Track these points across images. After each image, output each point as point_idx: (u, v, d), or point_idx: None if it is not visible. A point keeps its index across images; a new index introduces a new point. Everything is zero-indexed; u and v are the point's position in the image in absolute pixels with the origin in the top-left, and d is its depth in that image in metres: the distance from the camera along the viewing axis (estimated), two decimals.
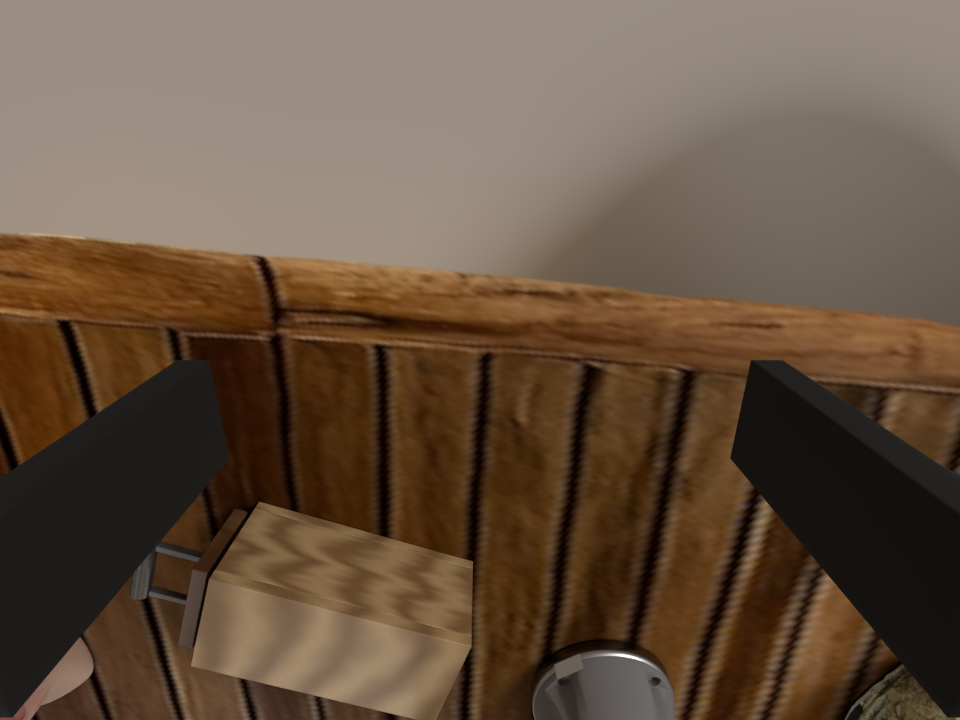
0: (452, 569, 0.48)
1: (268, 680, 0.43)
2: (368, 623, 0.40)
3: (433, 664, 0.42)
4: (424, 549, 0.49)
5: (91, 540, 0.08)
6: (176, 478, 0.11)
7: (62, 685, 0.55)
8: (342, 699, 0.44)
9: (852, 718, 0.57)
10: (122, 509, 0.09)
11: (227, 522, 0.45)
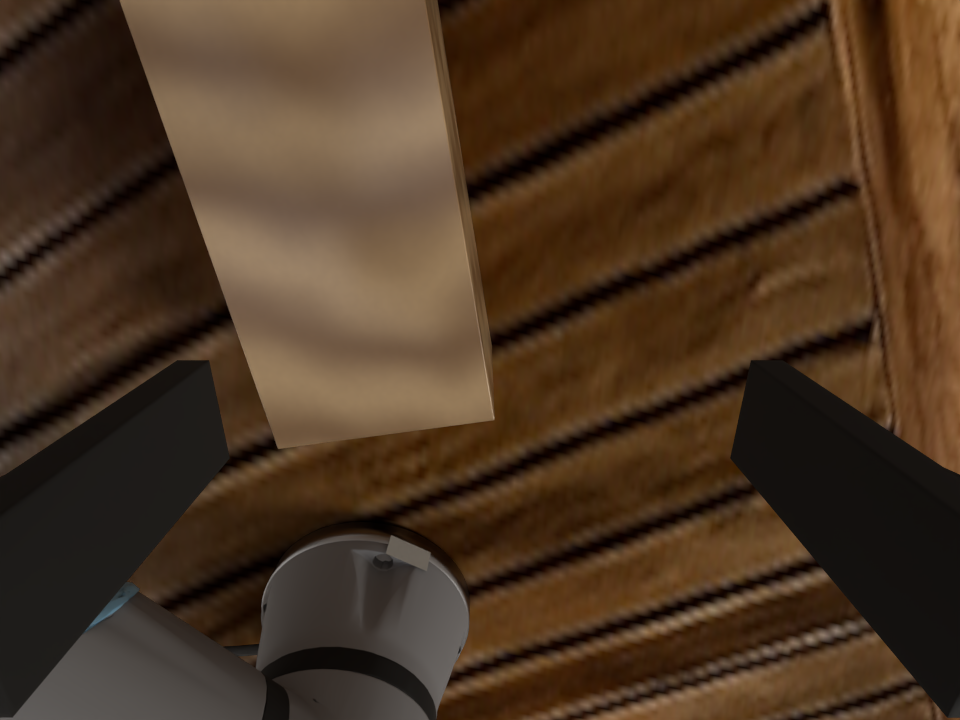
0: None
1: (165, 86, 0.18)
2: (453, 226, 0.19)
3: (418, 383, 0.22)
4: None
5: (91, 540, 0.08)
6: (176, 478, 0.11)
7: None
8: (222, 268, 0.20)
9: None
10: (122, 509, 0.09)
11: None
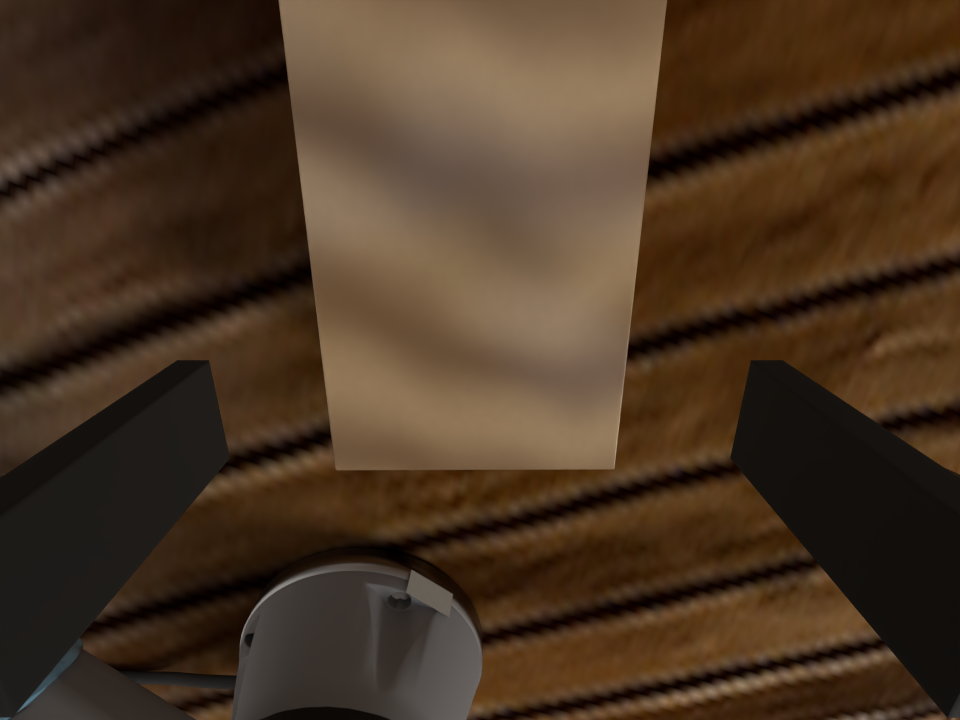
0: None
1: None
2: (631, 224, 0.15)
3: (534, 412, 0.17)
4: None
5: (91, 540, 0.08)
6: (176, 478, 0.11)
7: None
8: (318, 231, 0.15)
9: None
10: (123, 508, 0.09)
11: None
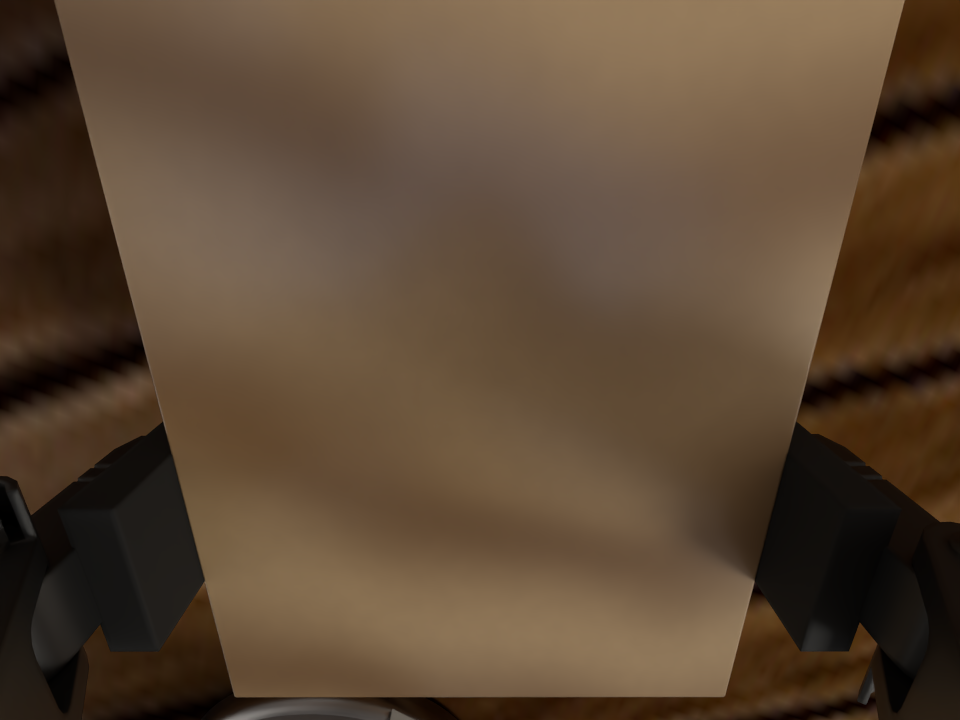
0: None
1: None
2: (809, 284, 0.07)
3: (588, 614, 0.10)
4: None
5: None
6: None
7: None
8: (154, 298, 0.07)
9: None
10: None
11: None
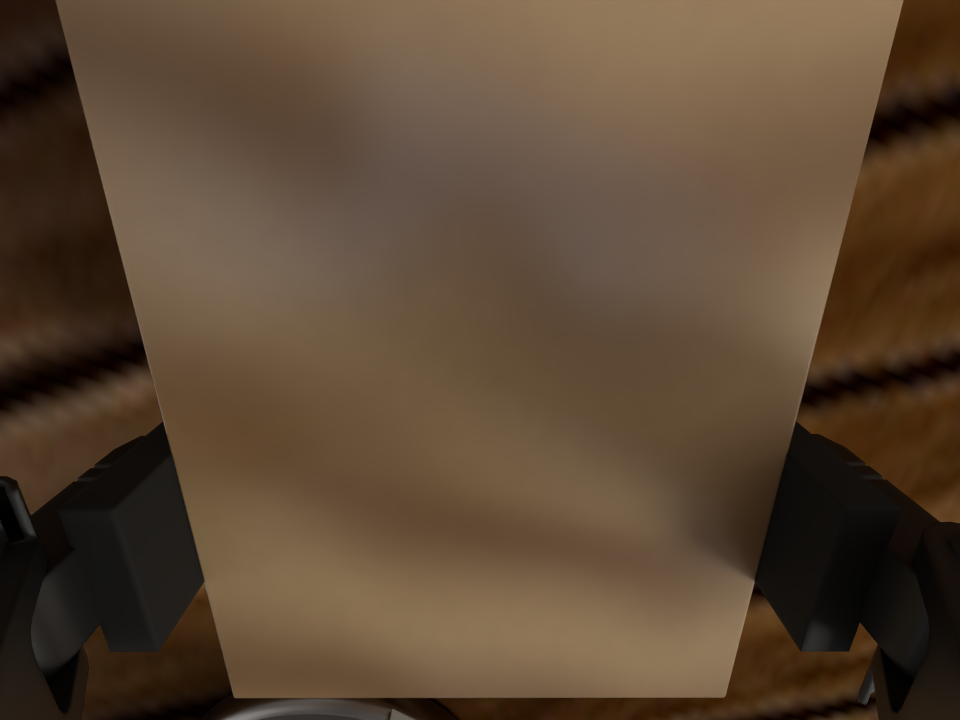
0: None
1: None
2: (809, 283, 0.07)
3: (588, 614, 0.09)
4: None
5: None
6: None
7: None
8: (154, 297, 0.07)
9: None
10: None
11: None
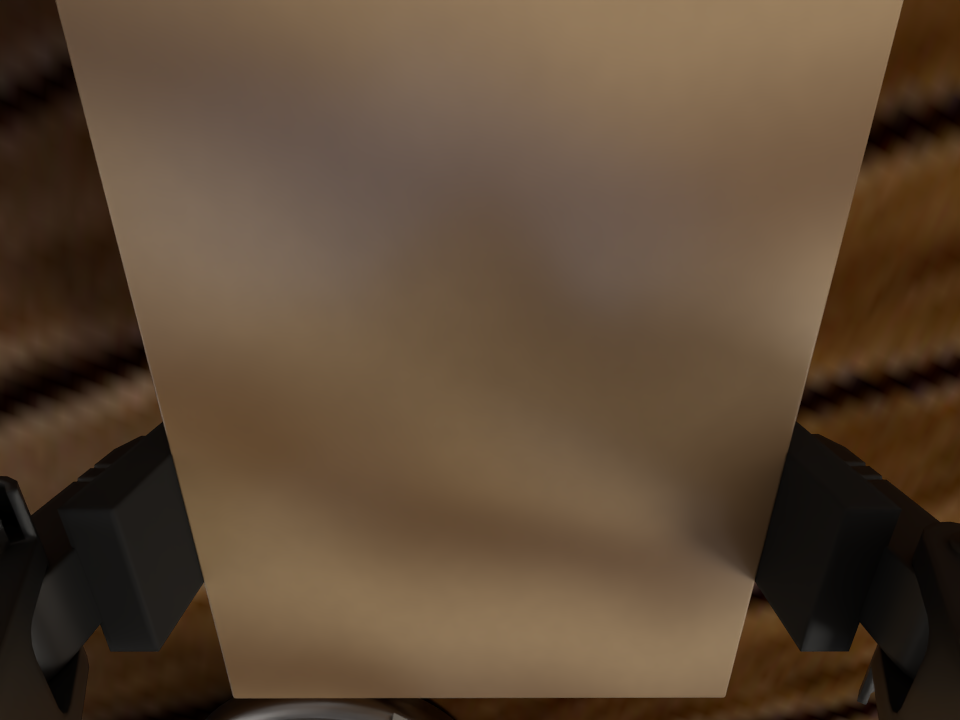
0: None
1: None
2: (809, 283, 0.07)
3: (588, 614, 0.09)
4: None
5: None
6: None
7: None
8: (154, 297, 0.07)
9: None
10: None
11: None
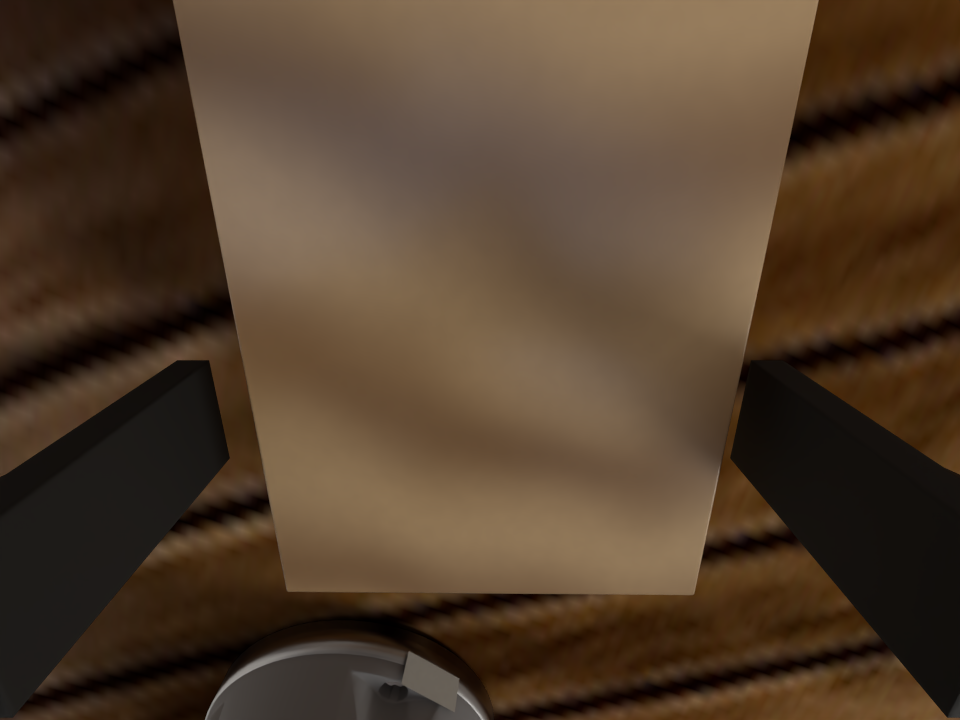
0: None
1: None
2: (751, 240, 0.09)
3: (578, 519, 0.12)
4: None
5: (91, 540, 0.08)
6: (176, 478, 0.11)
7: None
8: (239, 251, 0.09)
9: None
10: (122, 509, 0.09)
11: None
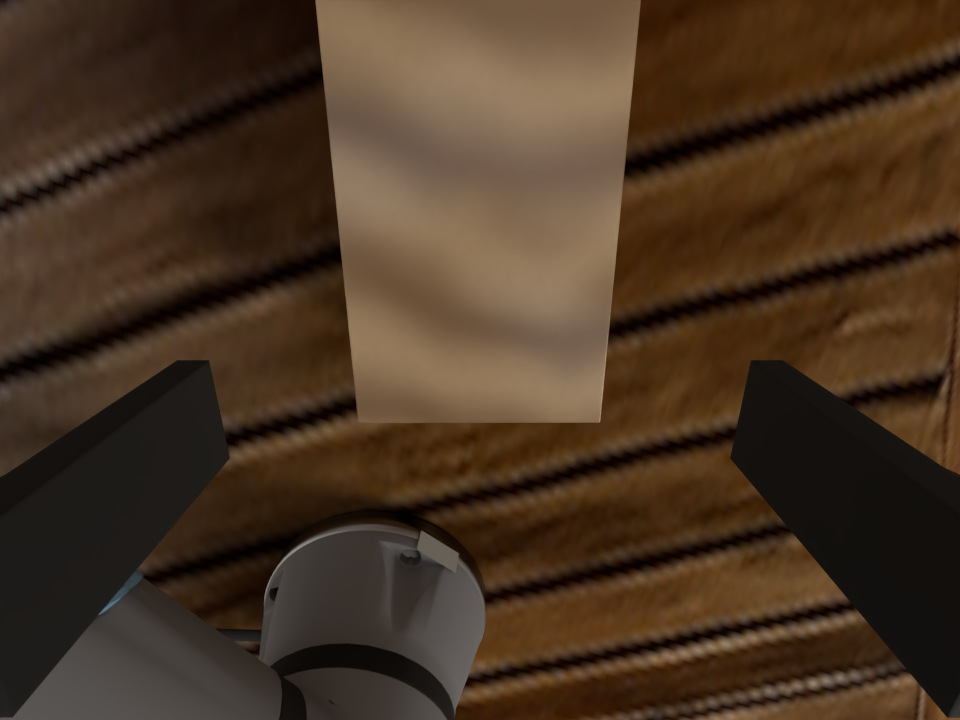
0: None
1: None
2: (611, 207, 0.18)
3: (530, 371, 0.20)
4: None
5: (91, 540, 0.08)
6: (176, 478, 0.11)
7: None
8: (346, 214, 0.18)
9: None
10: (122, 509, 0.09)
11: None
